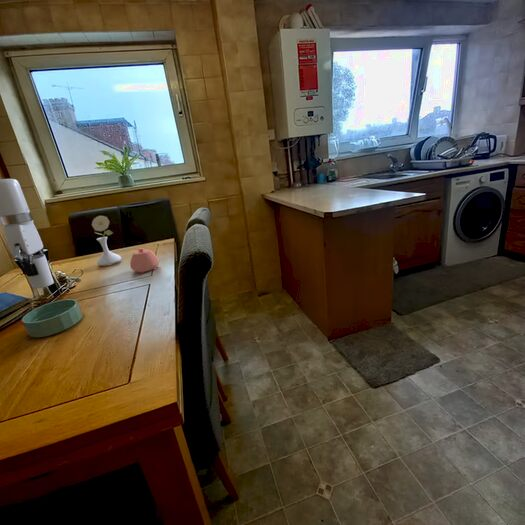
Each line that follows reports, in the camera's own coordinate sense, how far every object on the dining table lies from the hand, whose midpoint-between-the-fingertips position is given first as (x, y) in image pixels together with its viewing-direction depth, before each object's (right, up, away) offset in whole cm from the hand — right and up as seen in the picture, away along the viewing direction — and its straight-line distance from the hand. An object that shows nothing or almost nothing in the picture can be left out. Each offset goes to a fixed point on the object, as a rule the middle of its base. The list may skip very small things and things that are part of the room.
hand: (38, 271), depth 94 cm
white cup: (0, -5, +2) cm, 5 cm away
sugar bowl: (+22, 0, +35) cm, 41 cm away
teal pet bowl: (+11, -17, -7) cm, 21 cm away
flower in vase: (-2, +2, +50) cm, 50 cm away
